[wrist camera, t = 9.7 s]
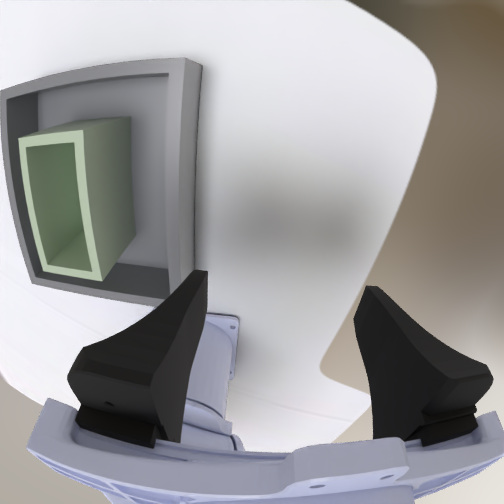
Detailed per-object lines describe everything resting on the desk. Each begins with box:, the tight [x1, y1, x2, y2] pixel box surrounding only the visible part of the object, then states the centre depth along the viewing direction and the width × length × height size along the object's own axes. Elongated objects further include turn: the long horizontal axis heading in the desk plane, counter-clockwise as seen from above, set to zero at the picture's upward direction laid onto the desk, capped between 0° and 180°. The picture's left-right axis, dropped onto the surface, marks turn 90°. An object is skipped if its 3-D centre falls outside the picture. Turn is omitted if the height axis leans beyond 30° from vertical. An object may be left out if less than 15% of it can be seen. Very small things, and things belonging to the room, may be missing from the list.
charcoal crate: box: [0, 58, 202, 307], centre depth 18 cm, size 16×14×4 cm
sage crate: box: [18, 117, 136, 281], centre depth 17 cm, size 9×5×6 cm, turn 175°
